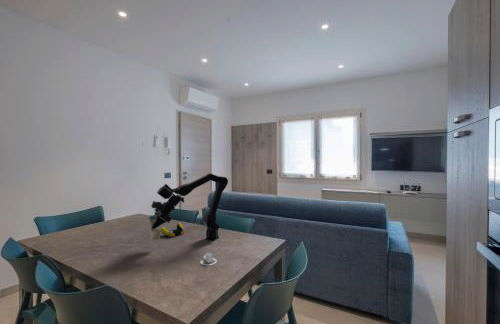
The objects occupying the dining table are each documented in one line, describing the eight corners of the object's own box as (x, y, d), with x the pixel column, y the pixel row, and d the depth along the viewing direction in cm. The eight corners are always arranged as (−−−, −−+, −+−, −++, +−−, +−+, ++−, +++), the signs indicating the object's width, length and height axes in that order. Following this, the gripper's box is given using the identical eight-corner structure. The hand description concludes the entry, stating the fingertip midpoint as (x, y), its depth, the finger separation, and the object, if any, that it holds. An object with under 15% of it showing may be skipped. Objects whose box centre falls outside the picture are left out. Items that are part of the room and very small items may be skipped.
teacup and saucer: (203, 258, 116) (202, 250, 116) (218, 258, 115) (218, 250, 115) (198, 266, 107) (198, 257, 107) (215, 266, 106) (215, 257, 106)
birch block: (158, 236, 129) (157, 214, 129) (160, 238, 125) (158, 216, 125) (150, 238, 127) (148, 216, 126) (151, 240, 123) (149, 217, 122)
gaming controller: (159, 235, 149) (167, 239, 143) (159, 227, 149) (167, 230, 143) (180, 230, 161) (188, 233, 154) (179, 222, 161) (188, 225, 154)
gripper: (157, 193, 135) (137, 215, 130) (163, 197, 119) (141, 223, 114) (171, 204, 139) (153, 226, 134) (179, 210, 123) (159, 235, 118)
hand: (151, 227), depth 125 cm, fingers closed on birch block, 4 cm apart
